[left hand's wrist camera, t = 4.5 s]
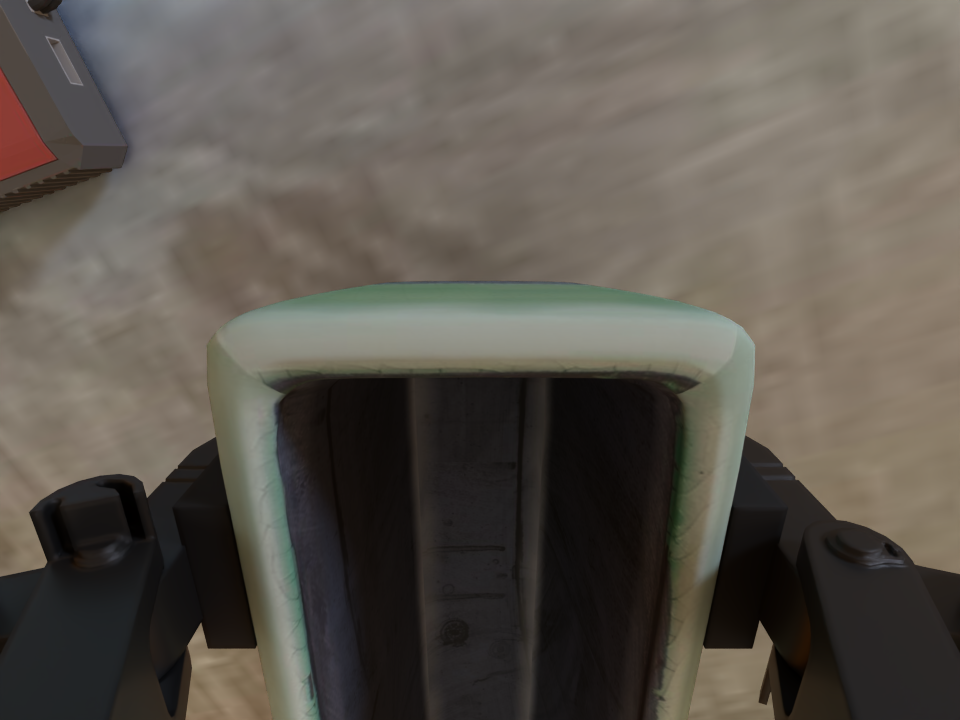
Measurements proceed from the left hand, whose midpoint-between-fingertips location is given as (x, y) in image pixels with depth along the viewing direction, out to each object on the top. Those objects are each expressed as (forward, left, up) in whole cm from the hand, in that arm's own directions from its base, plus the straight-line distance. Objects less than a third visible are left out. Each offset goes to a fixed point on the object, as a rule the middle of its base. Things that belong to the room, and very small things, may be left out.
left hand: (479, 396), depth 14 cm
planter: (+10, 0, -1) cm, 10 cm away
